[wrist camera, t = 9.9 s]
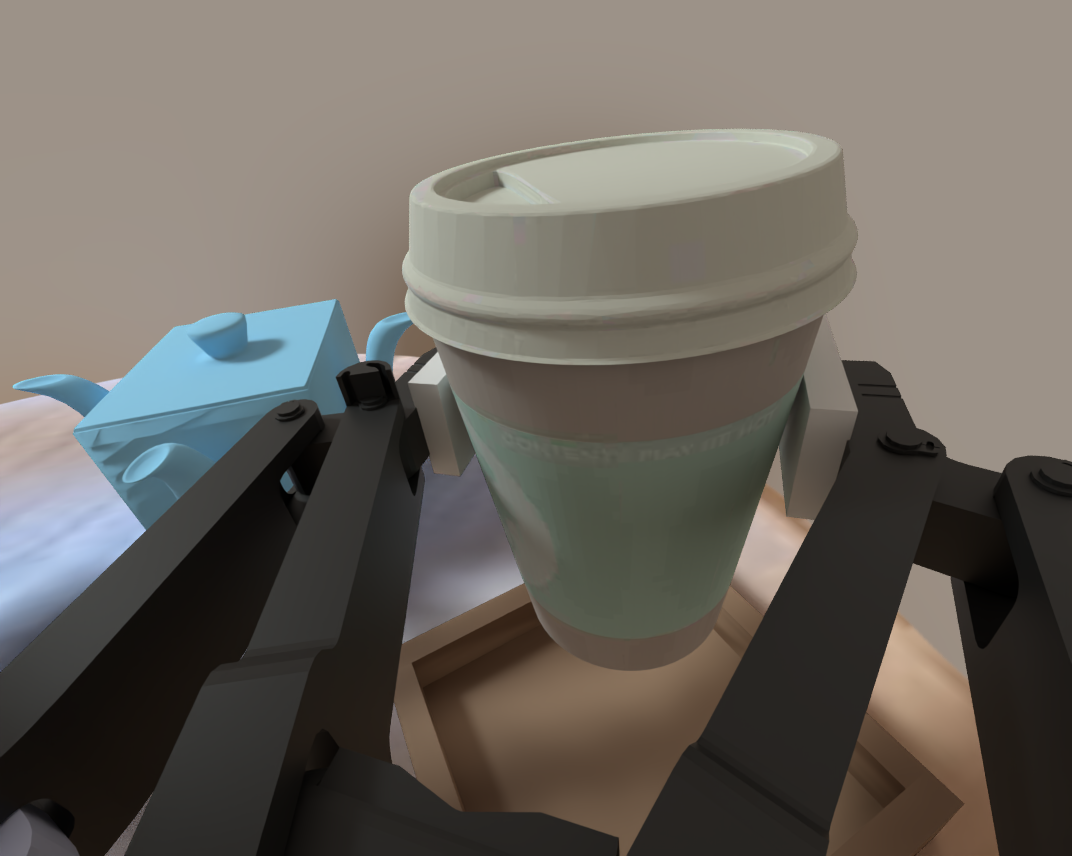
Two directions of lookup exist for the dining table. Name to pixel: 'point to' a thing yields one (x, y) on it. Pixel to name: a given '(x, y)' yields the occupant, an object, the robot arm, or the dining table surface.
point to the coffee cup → (630, 358)
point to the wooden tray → (613, 730)
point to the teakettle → (210, 394)
